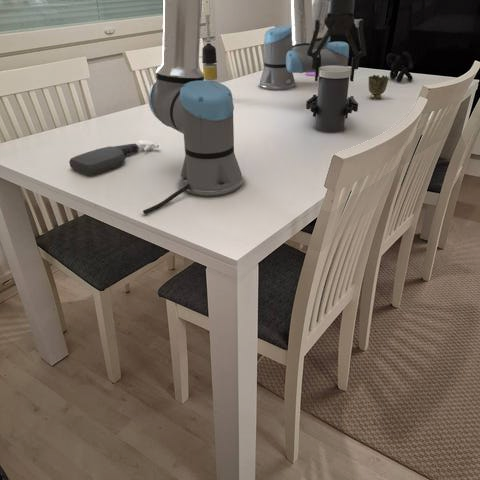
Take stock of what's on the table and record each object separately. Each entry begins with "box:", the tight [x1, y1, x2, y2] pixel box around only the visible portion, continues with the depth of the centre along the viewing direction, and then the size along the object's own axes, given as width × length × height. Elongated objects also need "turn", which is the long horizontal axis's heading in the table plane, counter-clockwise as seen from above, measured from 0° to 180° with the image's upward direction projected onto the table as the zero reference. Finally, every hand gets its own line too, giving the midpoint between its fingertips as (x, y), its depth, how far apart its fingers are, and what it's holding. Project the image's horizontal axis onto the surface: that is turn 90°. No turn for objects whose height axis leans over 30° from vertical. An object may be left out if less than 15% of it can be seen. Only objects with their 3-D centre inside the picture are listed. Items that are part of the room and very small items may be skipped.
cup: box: [368, 74, 390, 99], centre depth 173 cm, size 8×7×8 cm
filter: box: [201, 14, 218, 82], centre depth 171 cm, size 6×6×30 cm
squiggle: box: [385, 51, 414, 83], centre depth 198 cm, size 11×10×15 cm
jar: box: [314, 76, 350, 134], centre depth 141 cm, size 9×9×18 cm
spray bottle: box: [68, 139, 160, 177], centre depth 124 cm, size 3×11×24 cm
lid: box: [318, 66, 352, 79], centre depth 136 cm, size 10×10×2 cm
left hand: (333, 80), depth 137 cm, fingers closed on lid, 10 cm apart
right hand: (330, 113), depth 138 cm, fingers closed on jar, 9 cm apart
